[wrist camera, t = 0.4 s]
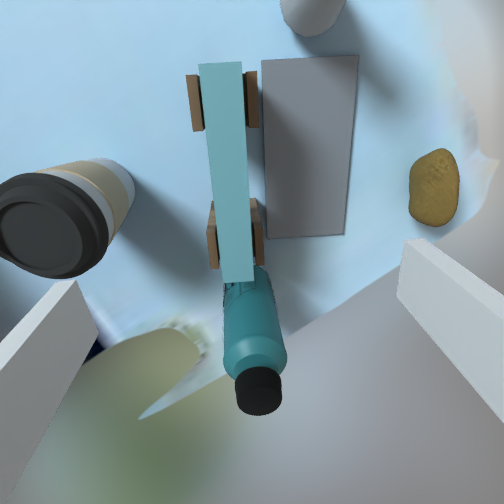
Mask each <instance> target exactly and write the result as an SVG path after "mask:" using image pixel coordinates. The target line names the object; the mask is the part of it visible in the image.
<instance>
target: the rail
mask: <svg viewBox="0 0 504 504" xmlns="http://www.w3.org/2000/svg"><path fill="white" fill-rule="evenodd" d="M198 66H199V75H200V84H201V93H202V102H203V111H204V119H205V128H206V137H207V146H208V155H209V164H210V173H211V181H212V190H213V199H214V208H215V217H216V226H217V235H218V243H219V252H220V261H221V270H222V279H223V283H233V282H246V281H254V269H253V252H252V235H251V217H250V200H249V183H248V165H247V148H246V131H245V113H244V96H243V79H242V62H225V63H207V64H198Z"/></svg>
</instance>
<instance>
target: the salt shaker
mask: <svg viewBox="0 0 504 504" xmlns="http://www.w3.org/2000/svg"><path fill="white" fill-rule="evenodd" d="M345 2H346V0H280V7H281V11H282V14H283V18H284V21H285V23H286V24H287V25H288V26H289V27H290V28H291V29H292V31H293V32H295V33H297V34H300V35H302V36H304V37H311V36H316V35H321V34H322V33H324V32H325V31H326V30H327V29H329V28H330V27H331V26H333V24H334V23H335V21H336V19H337V17H338V15H339V13H340V11H341V10H342V7H343V6H344V4H345Z"/></svg>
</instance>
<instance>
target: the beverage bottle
mask: <svg viewBox="0 0 504 504" xmlns="http://www.w3.org/2000/svg"><path fill="white" fill-rule="evenodd" d="M253 269H254V281H246V282H233V283H225V295H224V296H223V297H224V301H223V307H224V310H223V311H224V320H223V321H224V330H223V329H222V330H223V331H224V340H223V341H224V357H223V364H224V368H225V370H226V372H227V373H228V375H229V376H230V377H231V378H233V379H234V380H235V391H236V398H237V404H238V406H239V408H240V409H241V410H242V411H243V412H244V413H246V414H249V415H254V416H255V415H256V416H261V415H266V414H269V413H271V412H273V411H275V410H276V409H277V408H278V407H279V406H280V404H281V401H282V391H281V386H282V385H281V378H280V376H279V375H280V374H281V373H282V371H283V370H284V368H285V366H286V363H287V353H286V350H285V347H284V343H283V338H282V334H281V329H280V325H279V320H278V314H277V309H276V305H275V303H276V302H275V300H274V299H275V298H274V297H275V295H274V296H273V292H274V291H272V290H273V289H272V288H271V287H272V286H271V284H272V283H270V282H271V281H270V279H269V277H268V275H267V273H266V272H265V271H264V270H263V269H261V268H260V267H258V266H256V265H253ZM223 287H224V286H223ZM223 290H224V288H223ZM222 328H223V327H222ZM223 331H222V332H223Z"/></svg>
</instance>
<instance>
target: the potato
mask: <svg viewBox="0 0 504 504" xmlns="http://www.w3.org/2000/svg"><path fill="white" fill-rule="evenodd" d="M409 180H410V182H409V192H410V201H409V213H410V215H411V216H412V217H413V218H414V219H416V220H417V221H419V222H421V223H423V224H426V225H428V226H432V227H439V226H443V225H445V224H447V223H448V222H449V221H450V220H451V219H452V218H453V216H454V214H455V212H456V209H457V205H458V197H459V182H460V179H459V171H458V167H457V163H456V161H455V159H454V157H453V155H452V154H451V152H449V151H448V150H447V149H444V148H440V149H437V150H434V151H432V152H430V153H429V154H427V155H425V156H423V157H421V158H419V159H418V160H417V161H416V162H415V163H414V164H413V166H412V167H411V170H410V176H409Z"/></svg>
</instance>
